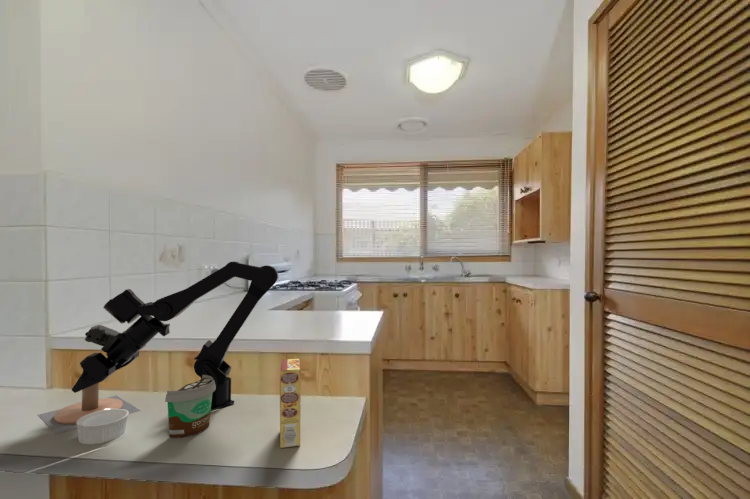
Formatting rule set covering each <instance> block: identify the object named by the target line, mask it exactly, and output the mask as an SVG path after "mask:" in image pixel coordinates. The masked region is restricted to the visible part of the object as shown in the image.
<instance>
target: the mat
mask: <svg viewBox="0 0 750 499" xmlns="http://www.w3.org/2000/svg"><path fill="white" fill-rule="evenodd" d="M105 398H106V397H105ZM105 398H103V399H105ZM108 398H113V399H119V400H121V401H122V402H123V407H122V409H125V410H127V411H128V412H129V415H130V414H135V413H137V412H140V411H141V410H140V409H139V408H137V407H136V406H134V405H133V404H131V403H129V402H127V401H126V400H124V399H123V398H121V397H119V396H118V395H114V396H109V397H108ZM61 409H62V408H60V409H56V410H55V409H54V410H52V411H48V412H43V413H40V414H37V416H38V417H39V418H40V419H41V420H42V422H44V424H45V425H46V426H47V427H48V428H49V429H50V430H51V431H52V432H53V433H54V434H55V435H59V434H64V433H66V432H70V431H73V430H78V427H77V424H59V423H56V422H55V421H54V415H55V413H56V412H57V411H59V410H61Z"/></svg>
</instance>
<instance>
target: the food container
mask: <svg viewBox="0 0 750 499" xmlns="http://www.w3.org/2000/svg"><path fill="white" fill-rule="evenodd" d="M215 390H216V385H215V381H214V380H213V377H211V376H208V375H202V379H201V378H200V379H199V380H197V381H195V382H191V383H187V384H185V385H184V386H181V388H180V389H178V390H167V392H166V394H165V401H164V402H165V403H167V416H168V434H169V438H170V439H171V438H172V439H179V438H182V439H183V438H187V437H191V436H192V437H193V436H195V435H199V434H200V433H202V432H205V431H206V430H207V429H208V428H209V427H210V423H211V422H210V421H211V412H212V410H211V403H212V393H213V392H214V391H215Z"/></svg>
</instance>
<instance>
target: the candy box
mask: <svg viewBox="0 0 750 499" xmlns="http://www.w3.org/2000/svg"><path fill="white" fill-rule="evenodd" d="M300 362H301V361H300V358H289V359H287V358H285V359H281V362H280V372H279V375H280V379H279V380H280V381H279V439H280V440H279V443H280V444H279V447H280V449H282V448H283V449H284V448H290V447H300V446H301V425H302V424H301V421H302V420H301V417H302V414H301V412H302V411H301V409H302V408H301V407H302V404H301V402H302V400H301V399H302V395H301V394H302V393H301V391H302V387H301V385H302V382H301V381H302V380H301V363H300Z"/></svg>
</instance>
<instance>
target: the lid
mask: <svg viewBox="0 0 750 499" xmlns="http://www.w3.org/2000/svg"><path fill="white" fill-rule="evenodd" d="M99 388H100V382H99V383H97V384H94V385H92V386H90V387H87V388H85V389H83V390H81V401H80V402H76V403H73V404H70V405H67V406H65V407H62V408H60V409H61V410H59V409H58V410H59V411H57V412H56V413H55V415H54V421H55V422H56V423H59V424H76V422H77V420H78V419H79V418H81V417H83V416H85V415H87V414H90V413H93V412H97V411H101V410H107V409H122V407H123V402H122V401H121V400H119V399H113V398H109V397H105V399H104V398H99V394H100V391H99V390H100V389H99Z"/></svg>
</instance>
